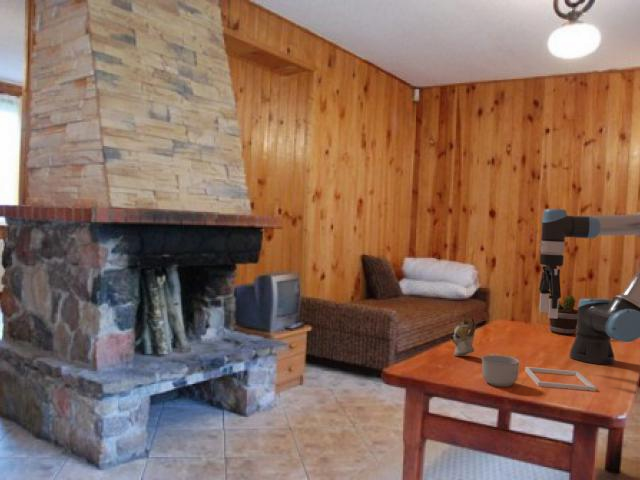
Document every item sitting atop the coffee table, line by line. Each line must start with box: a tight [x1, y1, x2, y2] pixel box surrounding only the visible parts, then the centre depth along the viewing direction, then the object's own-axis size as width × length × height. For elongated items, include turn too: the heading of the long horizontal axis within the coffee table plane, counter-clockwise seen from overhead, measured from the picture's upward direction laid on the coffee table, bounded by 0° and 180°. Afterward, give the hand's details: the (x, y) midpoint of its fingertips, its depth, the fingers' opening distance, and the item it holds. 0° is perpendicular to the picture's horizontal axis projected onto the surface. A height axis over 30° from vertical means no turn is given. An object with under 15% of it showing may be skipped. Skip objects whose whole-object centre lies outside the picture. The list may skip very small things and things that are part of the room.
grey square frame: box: [524, 366, 597, 392], centre depth 179 cm, size 17×19×2 cm
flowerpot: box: [546, 293, 578, 336], centre depth 265 cm, size 14×15×20 cm
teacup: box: [481, 353, 520, 388], centre depth 173 cm, size 14×11×8 cm
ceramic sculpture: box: [450, 313, 476, 357], centre depth 206 cm, size 11×9×15 cm
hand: (548, 315), depth 194 cm, fingers open, 13 cm apart
